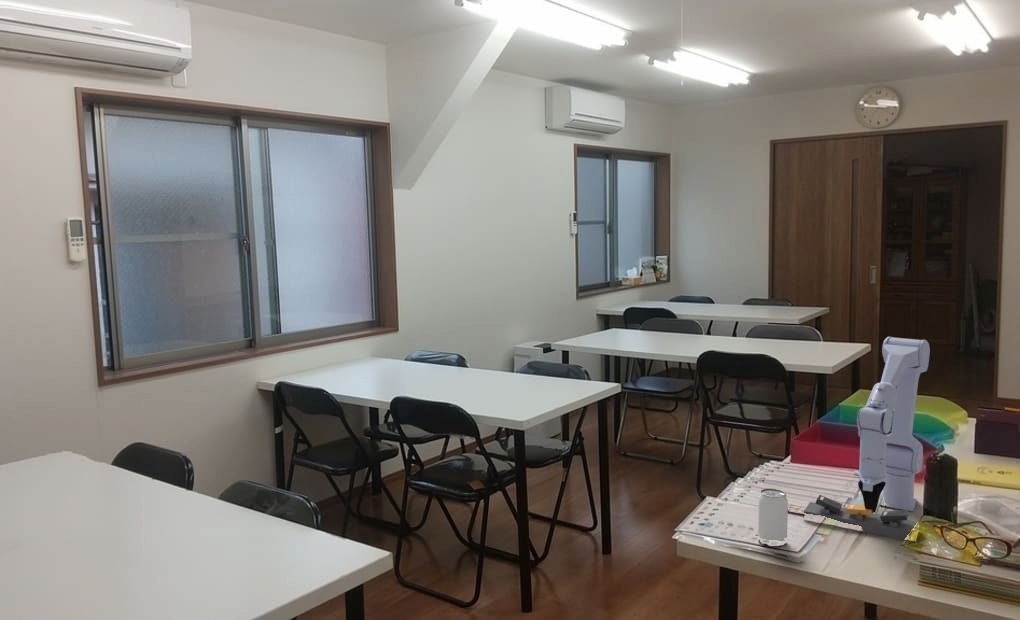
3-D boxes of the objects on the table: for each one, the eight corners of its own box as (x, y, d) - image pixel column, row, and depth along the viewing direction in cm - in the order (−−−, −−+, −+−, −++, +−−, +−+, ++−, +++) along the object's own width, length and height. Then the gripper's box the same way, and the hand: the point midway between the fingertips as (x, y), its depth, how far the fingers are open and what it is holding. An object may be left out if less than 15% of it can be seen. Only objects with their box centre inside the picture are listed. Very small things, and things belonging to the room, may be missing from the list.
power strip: (789, 507, 196) (790, 494, 196) (919, 531, 179) (920, 517, 179) (783, 516, 190) (783, 503, 190) (916, 542, 174) (917, 528, 173)
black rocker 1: (817, 500, 190) (819, 494, 190) (840, 510, 187) (842, 504, 187) (814, 505, 187) (816, 499, 187) (837, 515, 184) (839, 508, 184)
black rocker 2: (884, 518, 182) (882, 511, 182) (909, 517, 179) (907, 510, 179) (882, 523, 179) (880, 516, 179) (907, 522, 176) (905, 515, 176)
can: (788, 548, 172) (790, 498, 170) (759, 546, 173) (760, 497, 172) (784, 536, 178) (785, 488, 177) (756, 535, 180) (757, 487, 178)
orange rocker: (850, 511, 186) (849, 503, 186) (874, 512, 183) (873, 505, 183) (847, 516, 183) (846, 508, 183) (872, 517, 180) (871, 510, 180)
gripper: (859, 446, 188) (857, 498, 190) (849, 462, 176) (847, 517, 178) (890, 450, 184) (888, 504, 186) (882, 466, 172) (880, 523, 174)
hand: (870, 511), depth 181 cm, fingers closed, pressing on orange rocker
